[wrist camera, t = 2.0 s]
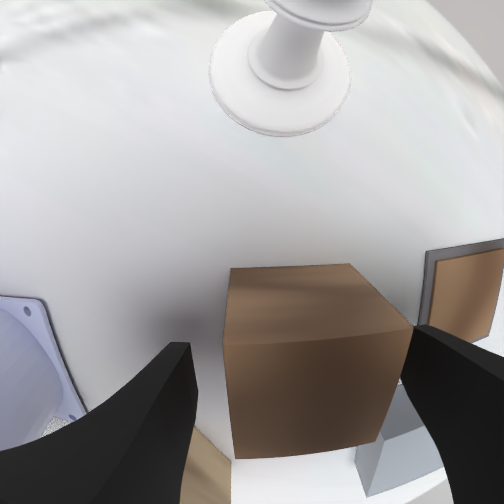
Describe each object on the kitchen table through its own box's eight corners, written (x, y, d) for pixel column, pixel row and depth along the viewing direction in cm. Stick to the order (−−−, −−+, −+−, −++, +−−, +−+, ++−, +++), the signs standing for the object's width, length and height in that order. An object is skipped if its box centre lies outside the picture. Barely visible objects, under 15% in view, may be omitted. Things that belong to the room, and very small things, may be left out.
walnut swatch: (410, 361, 12) (414, 366, 12) (426, 251, 11) (431, 254, 10) (486, 334, 12) (490, 337, 12) (504, 238, 11) (509, 240, 10)
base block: (353, 458, 15) (366, 497, 12) (361, 392, 13) (384, 441, 10) (440, 426, 15) (459, 457, 12) (464, 355, 13) (496, 388, 10)
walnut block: (236, 365, 12) (235, 459, 7) (230, 267, 11) (222, 344, 6) (338, 358, 12) (375, 442, 7) (349, 263, 11) (413, 327, 6)
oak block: (172, 471, 15) (161, 531, 10) (127, 433, 13) (104, 499, 9) (231, 460, 14) (230, 528, 9) (188, 419, 13) (175, 499, 8)
